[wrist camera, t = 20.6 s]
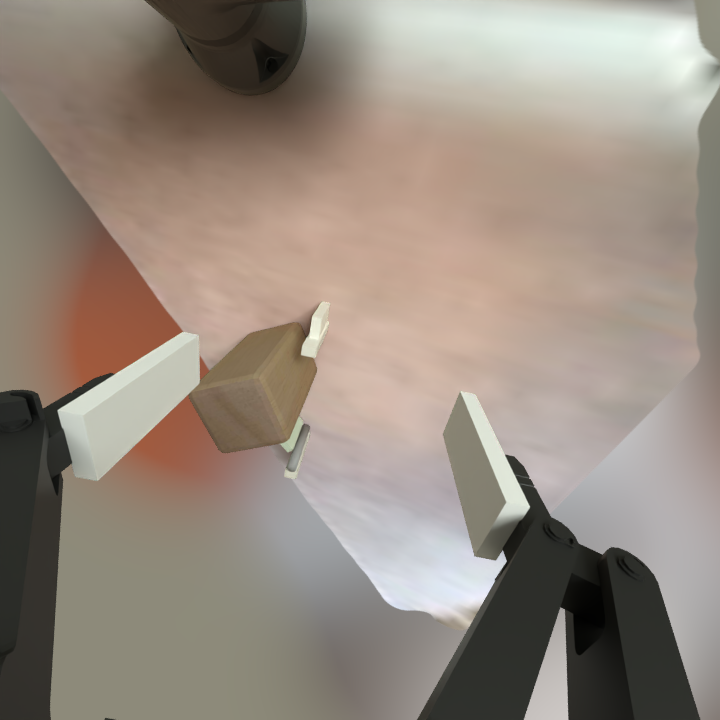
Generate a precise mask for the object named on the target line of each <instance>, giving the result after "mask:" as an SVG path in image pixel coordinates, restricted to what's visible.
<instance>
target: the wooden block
mask: <svg viewBox="0 0 720 720" xmlns="http://www.w3.org/2000/svg"><path fill="white" fill-rule="evenodd" d="M305 340H306V337H305V334H304V331H303V329H302V326H301V325H300V323H290V324H286V325H282V326H278V327H274V328H270V329H265V330H261V331H257V332H253V333H250V334H249V335H248V336H246V337H245V338H244V339H243V340H242V341H241V342H240V343H239V344H238V345H237V346H236V347H235V348H234V349H233V350H232V351H231V352H230V353H228V354H227V355H226V356H225V357H224V358H223V359H222V360H221V361H220V362H219V363H218V364H217V365H216V366H215V367H214V368H213V369H212V370H210V371H209V372H208V373H207V374H206V375H205V376H204V377H203V378H202V379H201V380H200V384H198V385H197V386H196V387H195V388H194V389H193V390H192V391H191V392H190V393H189V399H190V401H191V402H192V404H193V406H194V408H195V409H196V411H197V413H198V415H199V416H200V418H201V420H202V422H203V423H204V425H205V427H206V428H207V430H208V432H209V434H210V436H211V437H212V439H213V441H214V442H215V444H216V446H217V448H218V450H220V451H221V452H222V453H230V452H236V451H241V450H247V449H252V448H258V447H263V446H269V445H275V444H281V443H284V442H286V441H288V440H289V439H290V437H291V434H292V432H293V429H294V427H295V424H296V422H297V419H298V417H299V414H300V412H301V409H302V407H303V405H304V402H305V400H306V397H307V395H308V392H309V390H310V387H311V385H312V382H313V380H314V377H315V375H316V373H317V367H316V364H315V362H314V359H313V358H312V357H307V356H303V355H301V351H302V345H303V343H304V342H305Z"/></svg>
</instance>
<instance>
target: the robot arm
mask: <svg viewBox="0 0 720 720" xmlns="http://www.w3.org/2000/svg"><path fill="white" fill-rule="evenodd" d="M145 1H146V2H147V3H148V4H149V5H151V6H152V7H153V8H154V9H155V10H157V11H158V12H159V13H160V14H161V15H163V16H164V17H165V18H166V19H167V20H169V21H170V22H171V23H172V24H173V25H174V26H175V27H176V29H177V32H178V34H179V36H180V38H181V40H182V42H183V44H184V46H185V48H186V49H187V51H188V53H189V54H190V56H191V57H192V58H193V60H194V61H195V62H196V63H197V65H198V66H199V67H200V68H201V69H202V70H203V71H204V72H205V73H206V74H207V75H208V76H210V77H211V78H212V79H214V80H215V81H216V82H217V83H219V84H220V85H222V86H223V87H225V88H227V89H229V90H231V91H233V92H236V93H239V94H244V95H258V94H263V93H266V92H269V91H271V90H273V89H274V88H276V87H278V86H279V85H280V84H281V83H282V82H283V81H285V79H286V78H287V77H288V76H289V75H290V73H291V72H292V70H293V69H294V67H295V65H296V64H297V61H298V59H299V57H300V54H301V51H302V48H303V44H304V40H305V34H306V20H307V15H306V2H305V0H145ZM199 369H200V367H199V335H195V334H191V333H186V332H182V333H181V334H179V335H178V336H176V337H174V338H173V339H171V340H169V341H168V342H166V343H165V344H163V345H162V346H160V347H158V348H157V349H155V350H153V351H152V352H150V353H148V354H147V355H145V356H144V357H142V358H141V359H139V360H137V361H136V362H134V363H132V364H131V365H129V366H128V367H126V368H124V369H123V370H122V371H120V372H118V373H116V374H113V373H109V374H106V375H103V376H100V377H97V378H94V379H92V380H91V381H89V382H87V383H86V384H84V385H83V386H82V387H79V388H77V389H76V390H74V391H73V392H72V393H69V394H67V395H65V396H64V397H62V398H60V399H59V400H57V401H55V402H54V403H52V404H50V405H49V406H47V407H46V408H44V409H43V408H42V405H41V401H40V398H39V395H38V394H37V393H35V392H33V391H28V390H11V391H6V392H1V393H0V720H51V717H50V692H51V677H52V658H53V643H54V626H55V608H56V591H57V574H58V556H59V540H60V523H61V505H62V488H63V478H62V474H61V472H62V471H63V470H64V469H65V468H67V467H68V466H69V465H70V464H72V468H73V472H74V475H75V477H79V478H85V479H89V480H94V481H98V480H99V479H100V478H101V477H102V476H103V475H104V474H105V473H107V472H108V471H109V470H110V469H111V468H112V467H113V466H114V465H115V464H116V463H117V462H118V461H119V460H120V459H121V458H122V457H123V456H124V455H125V454H126V453H127V452H129V451H130V449H132V448H133V447H134V446H135V445H136V444H137V443H138V442H139V441H140V440H141V439H142V438H143V437H144V436H145V435H146V434H147V433H148V432H149V431H150V430H152V429H153V428H154V427H155V426H156V425H157V424H158V423H159V422H160V421H161V420H162V419H163V418H164V417H165V416H166V415H167V414H168V413H169V412H170V411H171V410H172V409H173V408H174V407H175V406H177V405H178V404H179V403H180V402H181V401H182V400H183V399H184V398H185V397H186V396H187V395H188V394H189V393H190V392H191V391H192V390H193V389H194V388H195V387H196V386H197V385H198V384H200V370H199ZM443 436H444V440H445V444H446V448H447V452H448V456H449V460H450V463H451V467H452V471H453V475H454V479H455V483H456V487H457V490H458V494H459V498H460V502H461V506H462V510H463V513H464V517H465V521H466V525H467V529H468V533H469V537H470V540H471V544H472V548H473V552H474V556H476V557H481V558H486V559H491V560H497V558H498V556H499V555H500V553H501V552H502V550H503V551H504V554H505V557H506V560H507V562H506V564H505V565H504V567H503V568H502V570H501V571H500V573H499V574H498V576H497V577H496V579H495V582H494V584H493V586H492V588H491V590H490V591H489V593H488V595H487V597H486V598H485V600H484V602H483V604H482V606H481V607H480V609H479V611H478V613H477V614H476V616H475V618H474V620H473V622H472V623H471V625H470V627H469V629H468V630H467V632H466V634H465V636H464V638H463V640H462V641H461V643H460V645H459V646H458V648H457V650H456V652H455V654H454V655H453V657H452V659H451V661H450V662H449V664H448V666H447V668H446V669H445V671H444V673H443V675H442V677H441V678H440V680H439V682H438V684H437V686H436V687H435V689H434V691H433V693H432V694H431V696H430V698H429V700H428V701H427V703H426V705H425V707H424V709H423V710H422V712H421V714H420V716H419V717H418V719H417V720H524V717H525V714H526V711H527V707H528V705H529V702H530V699H531V695H532V692H533V689H534V686H535V683H536V680H537V677H538V674H539V670H540V668H541V664H542V662H543V659H544V655H545V652H546V649H547V646H548V643H549V640H550V637H551V634H552V631H553V627H554V625H555V622H556V619H557V615H558V613H559V609H560V607H561V608H563V609H565V619H566V620H565V621H566V653H567V685H568V716H569V720H700V717H699V714H698V711H697V708H696V704H695V701H694V698H693V695H692V692H691V688H690V685H689V682H688V679H687V675H686V672H685V669H684V666H683V662H682V659H681V656H680V653H679V650H678V646H677V643H676V640H675V636H674V633H673V630H672V627H671V623H670V620H669V617H668V614H667V611H666V607H665V604H664V601H663V598H662V594H661V591H660V588H659V585H658V582H657V580H656V578H655V576H654V574H653V573H652V572H651V571H650V570H649V568H648V567H647V566H646V565H645V564H644V563H643V562H642V561H640V560H639V559H638V558H637V557H635V556H634V555H632V554H631V553H629V552H627V551H625V550H623V549H620V548H614V547H611V548H609V549H608V550H607V551H606V552H605V553H604V554H603V555H602V554H600V553H598V552H595V551H593V550H591V549H589V548H587V547H585V546H583V545H580V544H579V543H578V542H577V539H576V537H575V536H574V535H573V533H572V532H571V531H570V530H569V529H568V528H567V527H566V526H565V525H563V524H562V523H561V522H559V521H557V520H556V519H554V518H551V516H550V514H549V512H548V511H547V509H546V507H545V505H544V503H543V501H542V499H541V498H540V496H539V494H538V492H537V490H536V488H534V485H533V483H532V481H531V479H529V475H528V473H527V472H526V470H525V468H524V466H523V465H522V464H521V463H520V462H519V461H518V460H517V459H516V458H515V457H514V456H509V455H504V452H503V450H502V448H501V446H500V444H499V442H498V440H497V438H496V436H495V434H494V432H493V430H492V428H491V426H490V424H489V422H488V420H487V418H486V416H485V413H484V411H483V409H482V407H481V405H480V403H479V401H478V399H477V397H476V395H475V394H471V393H467V392H462V391H460V393H459V396H458V398H457V400H456V403H455V405H454V408H453V410H452V413H451V415H450V418H449V420H448V423H447V425H446V428H445V430H444V433H443ZM105 720H114V719H108V718H105Z"/></svg>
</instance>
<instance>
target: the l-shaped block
mask: <svg viewBox="0 0 720 720" xmlns="http://www.w3.org/2000/svg"><path fill="white" fill-rule="evenodd" d="M329 309H330V303H328V302H324V301H322V302H321V304H320V305H319V307H318V308H317V310H316V311H315V313H314V314H313V316H312V321H311V328H310V333H309V335H308V336H307V338H306V340H305V342H304V343H303V345H302V351H301V355H303V356H307V357H312V358H315V357H316V355H317V353H318V351H319V348H320V346H321V344H322V342H323V340H324V337H325V335H326V333H327V331H328V326H329V322H327V321H328V315H329ZM309 430H310V426H309V425H307V424H304V425H303V426H302V428H301V430H300V433H299V435H298V438H297V441H296V443H295V446H294V449H293V451H292V454H291V456H290V459H289V462H288V464H287V467H286V470H285V477H288V478H293V479H296V477H297V474H298V471H299V468H300V465H301V462H302V459H303V456H304V453H305V450H306V446H307V443H308V440H309V437H310V431H309Z"/></svg>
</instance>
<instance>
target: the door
mask: <svg viewBox="0 0 720 720" xmlns="http://www.w3.org/2000/svg"><path fill="white" fill-rule="evenodd" d="M231 351H232V350H231ZM231 351H230V352H231ZM230 352H229V353H230ZM214 367H215V366H214ZM214 367H213V368H214ZM213 368H212V369H213ZM302 425H303V421H302V419H301V418H300V417H298V419H297V422H296V424H295V427H294V429H293V432H292V434H291V437H290V439H289V440H288V441H286V442H284V443H281V444H280V445H281V446H282V447H283V448H284V449H285V450H286V451H287V452H290V451H292V450H293V449H294V446H295V443H296V441H297V438H298V435H299V433H300V430H301V427H302Z"/></svg>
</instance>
